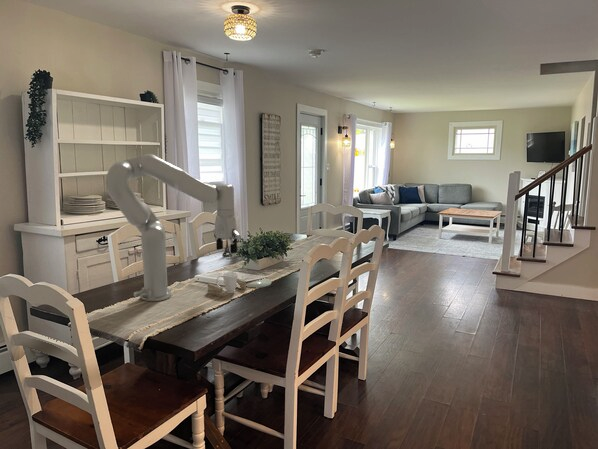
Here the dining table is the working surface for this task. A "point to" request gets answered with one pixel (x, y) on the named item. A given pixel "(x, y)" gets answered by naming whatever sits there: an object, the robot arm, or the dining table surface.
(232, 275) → the cup
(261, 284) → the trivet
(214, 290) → the maple blocks
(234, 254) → the eiffel tower figurine
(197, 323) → the dining table surface
